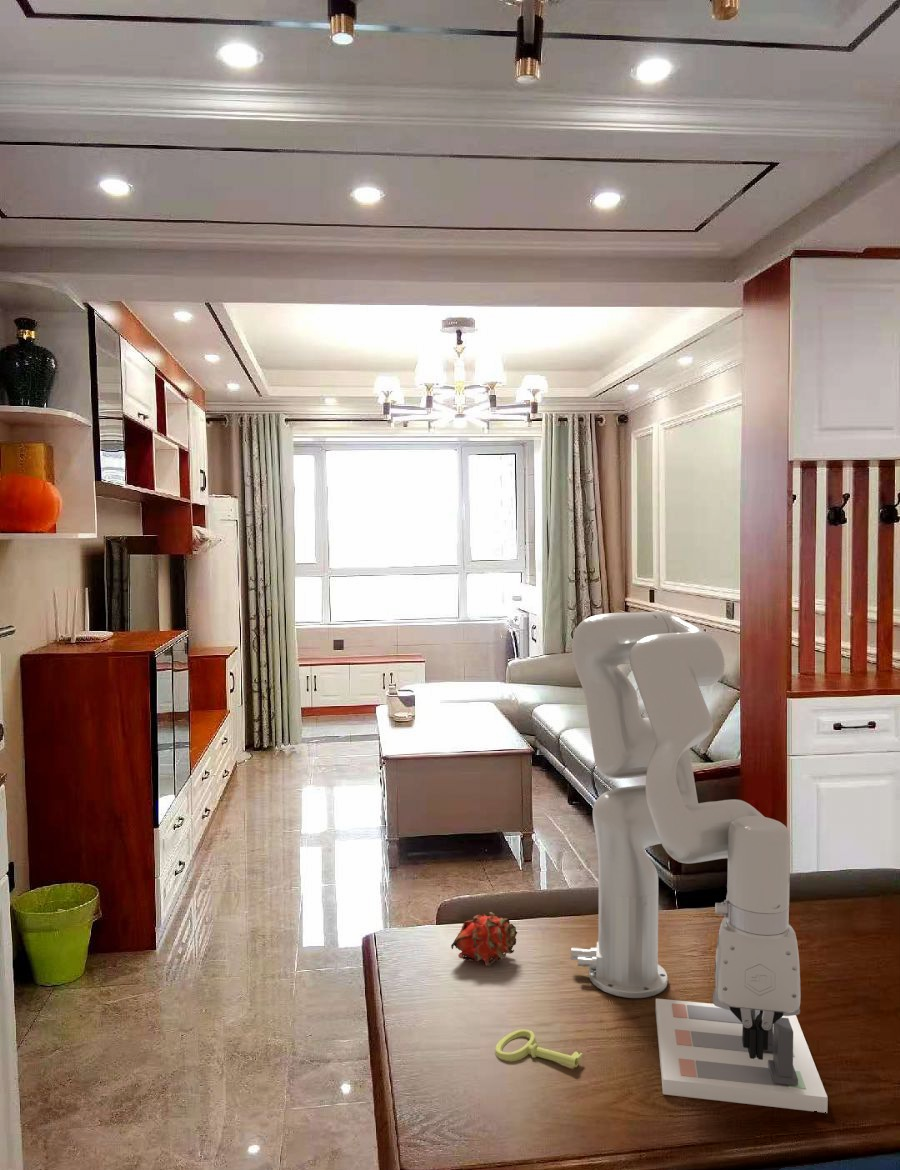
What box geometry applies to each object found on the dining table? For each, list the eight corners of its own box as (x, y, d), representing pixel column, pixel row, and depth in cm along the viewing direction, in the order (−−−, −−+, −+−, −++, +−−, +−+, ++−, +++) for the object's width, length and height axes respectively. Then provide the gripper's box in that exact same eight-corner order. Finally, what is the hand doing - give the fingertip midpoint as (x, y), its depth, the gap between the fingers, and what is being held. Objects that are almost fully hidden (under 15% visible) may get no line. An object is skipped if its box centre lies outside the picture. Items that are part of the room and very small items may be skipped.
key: (580, 1076, 115) (580, 1061, 115) (491, 1061, 118) (491, 1046, 118) (587, 1046, 122) (587, 1032, 122) (503, 1033, 125) (502, 1019, 125)
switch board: (662, 1094, 110) (663, 1078, 110) (655, 1011, 130) (655, 997, 130) (827, 1112, 107) (827, 1096, 107) (794, 1024, 126) (794, 1010, 126)
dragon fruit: (523, 966, 147) (457, 985, 144) (507, 921, 154) (443, 939, 151) (528, 941, 142) (459, 961, 139) (510, 896, 148) (444, 914, 145)
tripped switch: (772, 1082, 109) (773, 1030, 109) (767, 1065, 112) (768, 1015, 112) (797, 1085, 108) (798, 1033, 108) (792, 1068, 112) (792, 1017, 112)
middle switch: (754, 1049, 116) (754, 1001, 116) (750, 1034, 120) (750, 987, 119) (777, 1052, 116) (778, 1003, 115) (772, 1037, 119) (773, 989, 119)
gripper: (699, 923, 108) (697, 1063, 109) (825, 934, 105) (822, 1078, 106) (695, 898, 115) (693, 1030, 116) (813, 908, 112) (809, 1043, 113)
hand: (754, 1052), depth 111 cm, fingers closed
